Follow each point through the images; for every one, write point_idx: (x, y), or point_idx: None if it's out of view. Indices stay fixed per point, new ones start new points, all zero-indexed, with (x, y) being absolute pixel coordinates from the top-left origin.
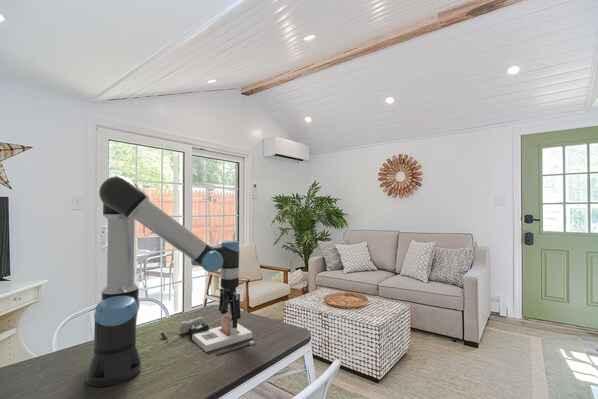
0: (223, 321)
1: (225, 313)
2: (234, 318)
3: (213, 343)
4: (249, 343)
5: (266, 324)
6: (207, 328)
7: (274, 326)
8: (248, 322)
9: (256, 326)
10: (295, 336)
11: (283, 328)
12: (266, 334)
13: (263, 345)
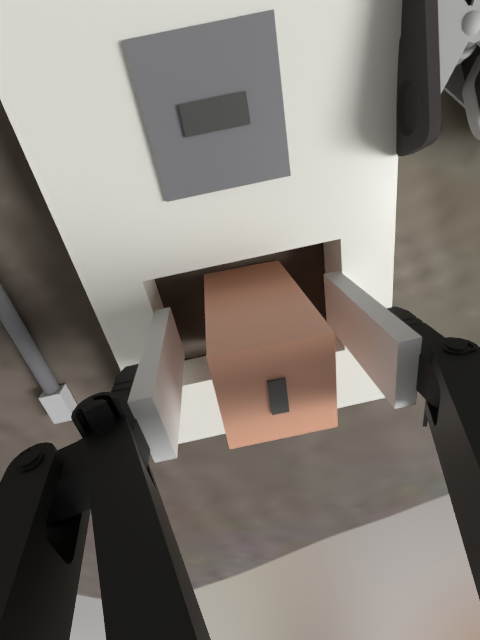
0: (303, 313)
1: (417, 384)
2: (17, 460)
3: (5, 105)
4: (44, 391)
5: (308, 509)
6: (405, 136)
7: (260, 530)
8: (397, 446)
9: (313, 468)
10: (94, 571)
11: (213, 553)
12: (175, 486)
13: (21, 446)
